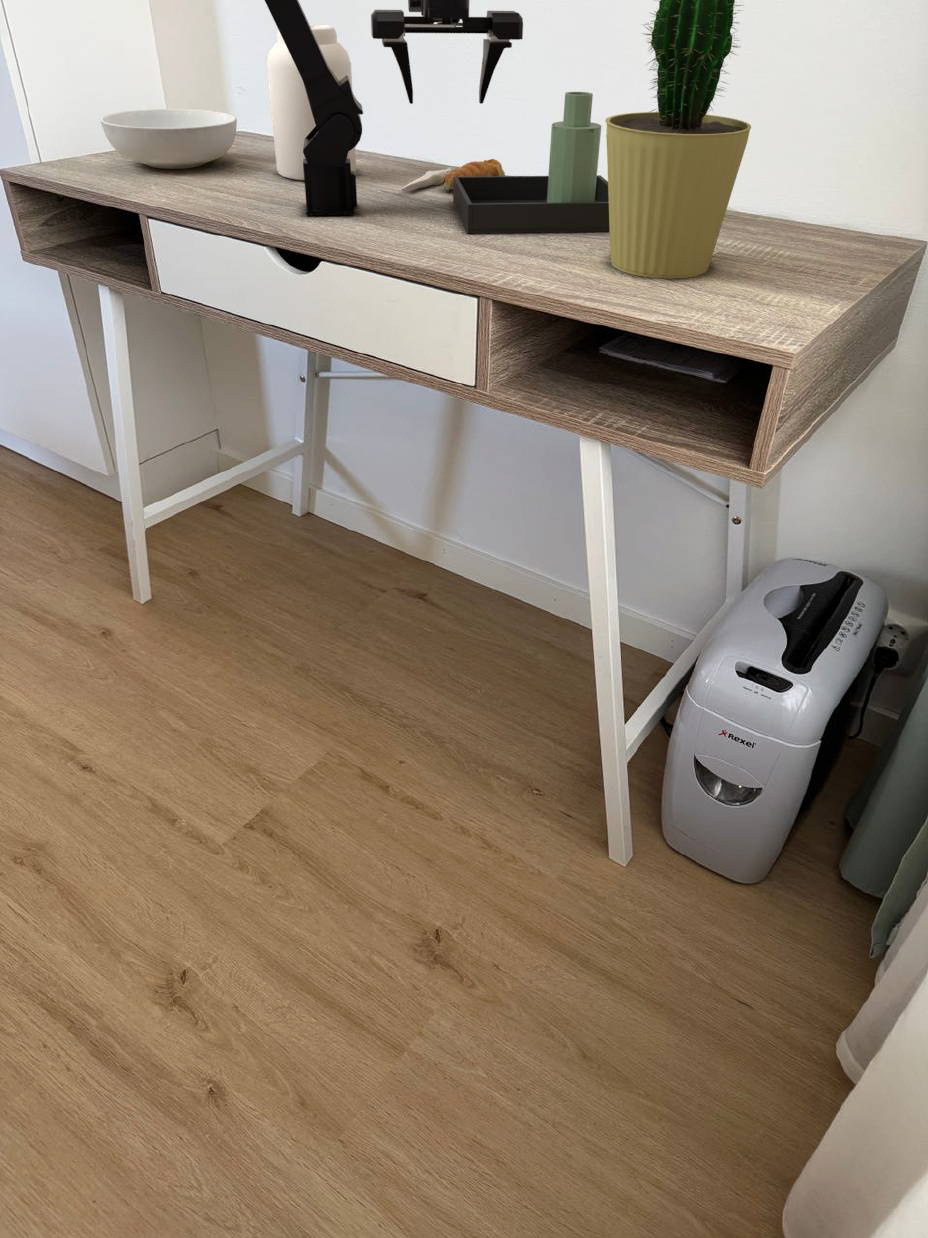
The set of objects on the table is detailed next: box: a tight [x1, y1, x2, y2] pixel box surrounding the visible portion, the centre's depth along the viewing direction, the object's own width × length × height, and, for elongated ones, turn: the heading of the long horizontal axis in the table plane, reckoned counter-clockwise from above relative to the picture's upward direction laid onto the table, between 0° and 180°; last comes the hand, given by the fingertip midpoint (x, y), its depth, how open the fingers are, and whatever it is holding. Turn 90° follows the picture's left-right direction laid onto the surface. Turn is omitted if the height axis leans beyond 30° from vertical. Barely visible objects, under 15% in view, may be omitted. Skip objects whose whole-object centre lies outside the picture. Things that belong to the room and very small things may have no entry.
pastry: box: [443, 158, 506, 190], centre depth 138 cm, size 9×7×4 cm
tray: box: [452, 174, 610, 235], centre depth 125 cm, size 21×17×4 cm
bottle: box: [547, 91, 602, 203], centre depth 120 cm, size 6×6×14 cm
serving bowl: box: [100, 108, 238, 170], centre depth 150 cm, size 21×21×7 cm
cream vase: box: [266, 23, 357, 181], centre depth 141 cm, size 12×12×20 cm
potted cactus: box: [604, 0, 752, 279], centre depth 99 cm, size 15×15×30 cm
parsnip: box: [401, 167, 453, 192], centre depth 141 cm, size 15×3×2 cm, turn 152°
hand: (446, 102), depth 121 cm, fingers open, 9 cm apart
